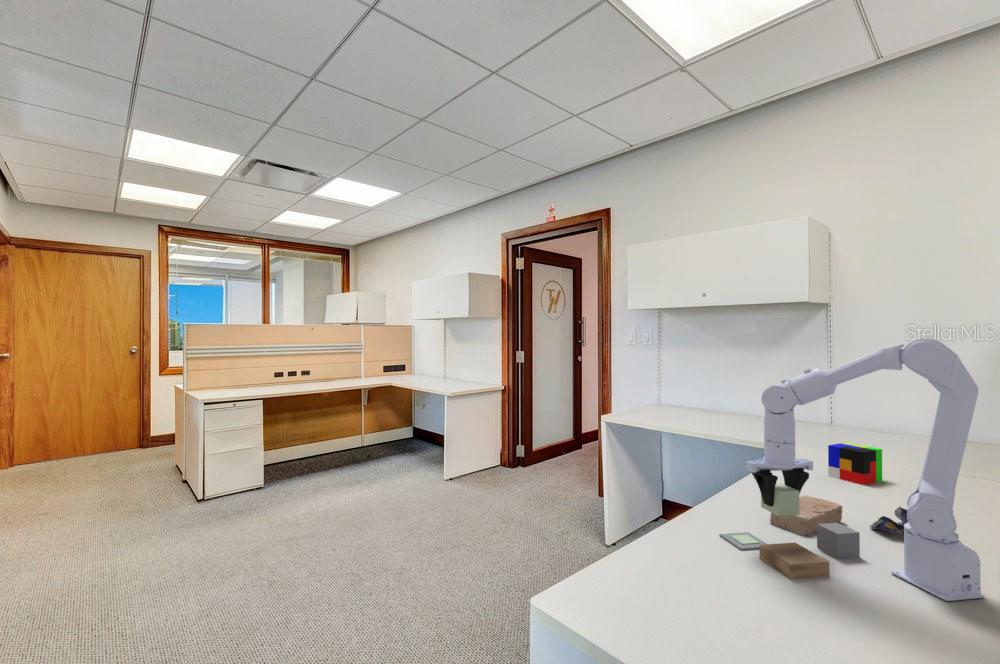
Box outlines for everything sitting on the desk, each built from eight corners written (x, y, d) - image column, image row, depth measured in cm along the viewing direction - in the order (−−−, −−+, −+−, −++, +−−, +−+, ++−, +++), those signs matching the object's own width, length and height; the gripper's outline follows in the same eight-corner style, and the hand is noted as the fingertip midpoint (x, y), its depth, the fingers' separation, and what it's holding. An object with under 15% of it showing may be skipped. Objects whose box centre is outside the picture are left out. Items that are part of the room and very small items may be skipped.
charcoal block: (859, 557, 92) (859, 532, 92) (838, 559, 91) (837, 534, 91) (837, 546, 97) (837, 522, 97) (817, 547, 96) (816, 524, 96)
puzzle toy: (828, 476, 147) (828, 445, 147) (846, 472, 151) (846, 442, 151) (863, 485, 138) (863, 452, 138) (882, 481, 142) (882, 449, 142)
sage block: (799, 514, 96) (799, 490, 96) (778, 515, 95) (778, 491, 95) (781, 505, 101) (781, 483, 101) (761, 507, 100) (760, 484, 100)
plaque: (771, 548, 95) (771, 545, 95) (740, 550, 94) (740, 547, 94) (747, 533, 102) (748, 531, 102) (719, 535, 101) (719, 533, 101)
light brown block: (829, 577, 84) (829, 561, 84) (790, 581, 83) (790, 564, 83) (795, 557, 92) (795, 542, 92) (759, 560, 91) (759, 544, 91)
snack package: (879, 521, 111) (863, 531, 104) (885, 495, 111) (870, 504, 103) (948, 548, 101) (936, 562, 94) (955, 520, 101) (943, 532, 94)
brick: (805, 537, 101) (805, 516, 101) (768, 524, 109) (768, 504, 109) (843, 524, 109) (843, 504, 109) (806, 512, 117) (806, 493, 117)
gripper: (794, 435, 103) (795, 496, 103) (736, 437, 101) (736, 499, 101) (821, 443, 96) (821, 507, 96) (759, 445, 94) (759, 511, 94)
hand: (779, 504), depth 98 cm, fingers closed on sage block, 5 cm apart
